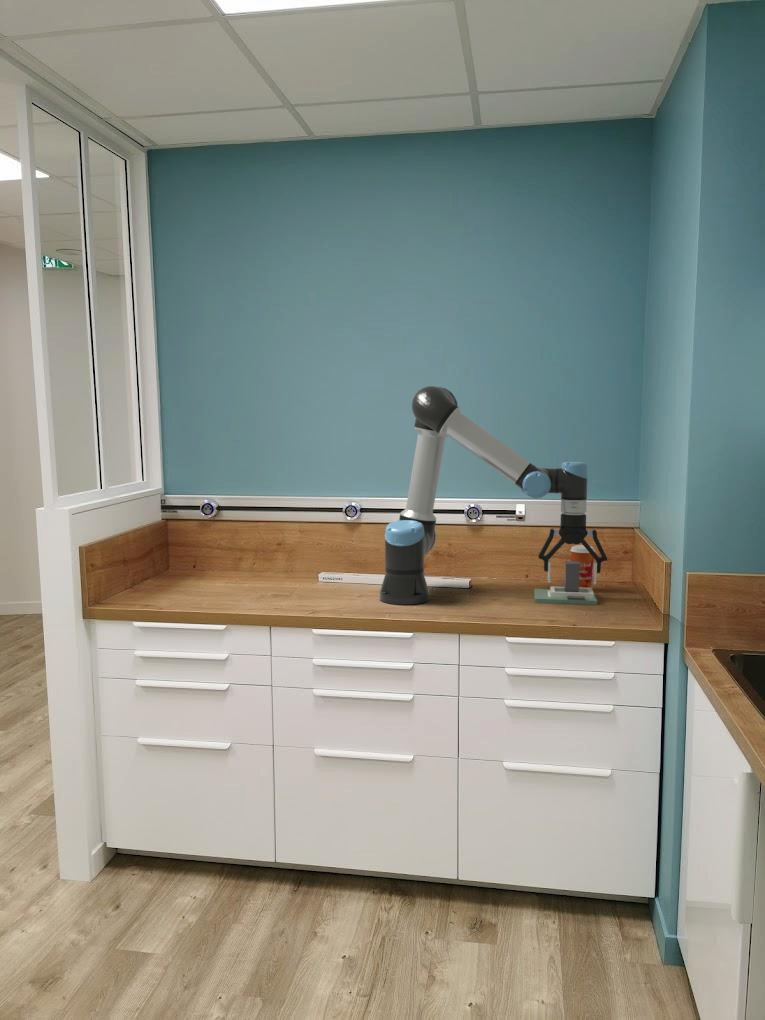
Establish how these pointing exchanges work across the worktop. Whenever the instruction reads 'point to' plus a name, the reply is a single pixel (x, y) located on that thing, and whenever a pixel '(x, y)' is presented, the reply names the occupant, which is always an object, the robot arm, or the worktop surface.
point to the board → (565, 596)
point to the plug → (572, 576)
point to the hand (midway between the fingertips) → (571, 582)
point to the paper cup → (583, 564)
